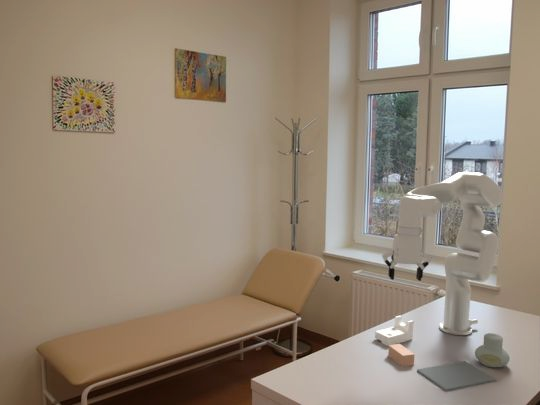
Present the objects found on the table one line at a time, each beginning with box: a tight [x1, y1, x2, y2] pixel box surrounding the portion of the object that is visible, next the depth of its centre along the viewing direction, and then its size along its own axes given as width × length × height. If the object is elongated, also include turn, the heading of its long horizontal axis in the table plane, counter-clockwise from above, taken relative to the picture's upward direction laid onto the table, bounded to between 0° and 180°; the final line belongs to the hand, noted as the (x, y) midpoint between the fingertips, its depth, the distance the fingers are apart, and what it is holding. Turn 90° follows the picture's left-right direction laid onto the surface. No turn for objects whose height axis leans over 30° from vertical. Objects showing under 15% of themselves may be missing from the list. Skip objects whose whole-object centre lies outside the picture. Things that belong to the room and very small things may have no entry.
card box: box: [387, 343, 415, 367], centre depth 174 cm, size 4×9×4 cm, turn 18°
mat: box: [416, 360, 497, 392], centre depth 163 cm, size 20×14×1 cm
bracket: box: [374, 315, 414, 347], centre depth 191 cm, size 13×7×8 cm, turn 122°
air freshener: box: [474, 332, 511, 369], centre depth 171 cm, size 11×8×10 cm
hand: (405, 279), depth 176 cm, fingers open, 9 cm apart
